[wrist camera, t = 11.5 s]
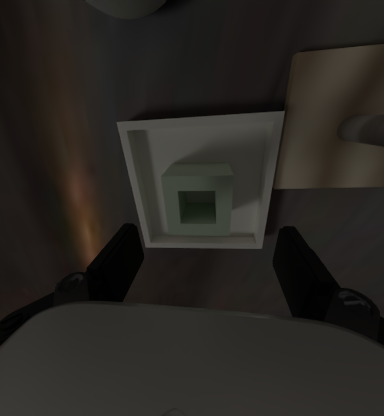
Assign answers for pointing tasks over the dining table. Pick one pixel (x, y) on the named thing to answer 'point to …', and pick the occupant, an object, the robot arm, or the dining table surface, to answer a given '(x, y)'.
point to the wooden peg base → (333, 120)
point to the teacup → (127, 7)
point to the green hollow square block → (198, 212)
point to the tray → (204, 153)
